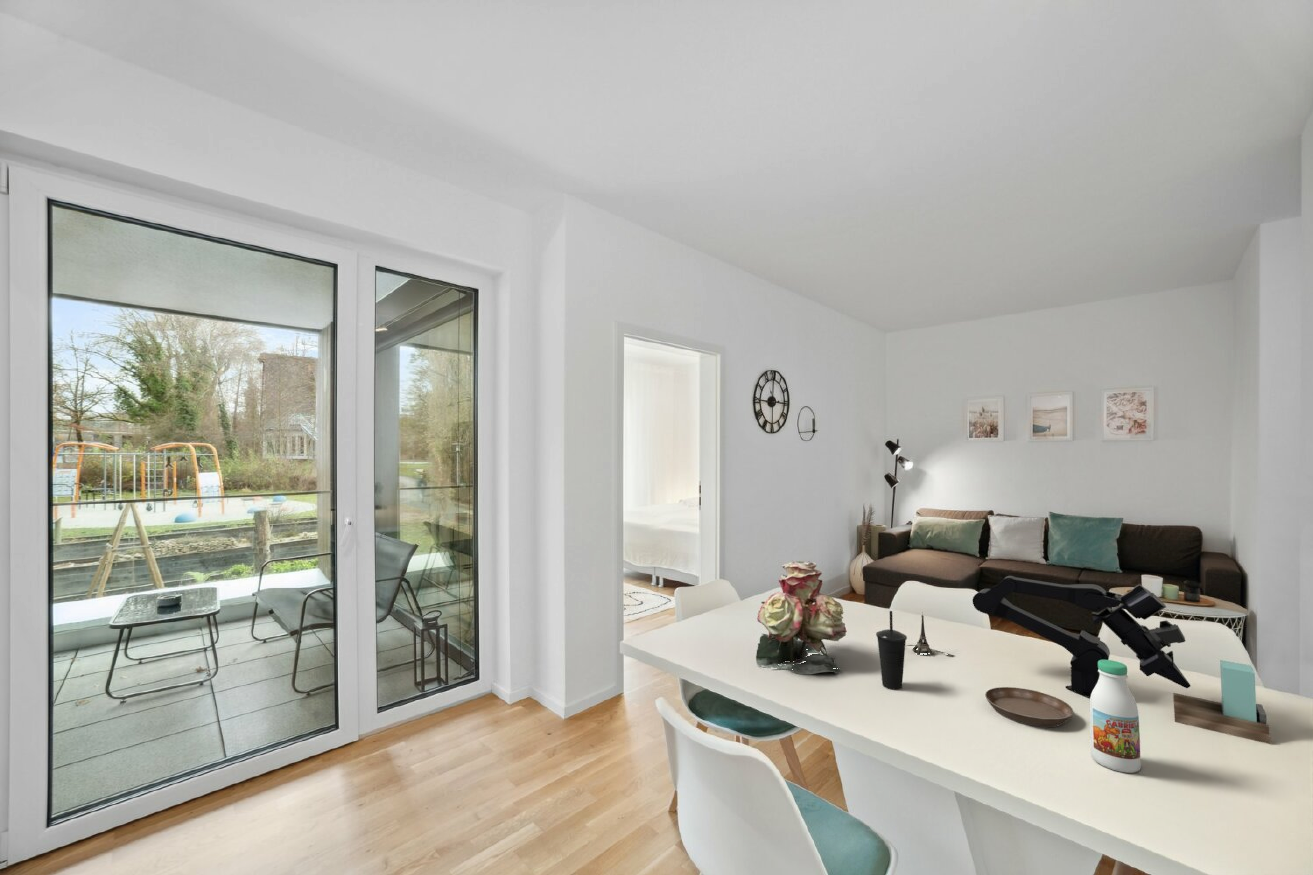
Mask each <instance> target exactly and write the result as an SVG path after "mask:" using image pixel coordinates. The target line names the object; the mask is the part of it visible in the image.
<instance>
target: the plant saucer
mask: <svg viewBox="0 0 1313 875" xmlns="http://www.w3.org/2000/svg"><path fill="white" fill-rule="evenodd" d="M984 695H985V698H986V701H987V702H988V703H989V706H991V707H992V708H993V709H994V710H995V711H996V712H997V713H998V714H999V715H1001V716H1003V717H1005V718H1007V719H1009V720H1011V721H1014V722H1016V723H1021V724H1023V725H1027V726H1035V727H1042V728H1043V727H1046V728H1051V727H1052V728H1053V727H1058V726H1060V725H1063V724H1065V723H1066V722H1068V720H1069V719H1071V717H1072V716H1073V714H1074V709H1073V708H1072V706H1071V705H1070V704H1069V703H1067V702H1065V701H1064V700H1063V699H1061V698H1058V697H1056V696H1053V695H1051V694H1047V693H1044V692H1041V691H1037V690H1033V689H1029V688H1028V689H1027V688H1021V687H1011V686H1006V687H1004V686H1003V687H1000V686H999V687H993V688H990V689H988V690H986V691H985V694H984Z"/></svg>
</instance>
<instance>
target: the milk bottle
mask: <svg viewBox="0 0 1313 875" xmlns="http://www.w3.org/2000/svg"><path fill="white" fill-rule="evenodd" d="M1098 672H1099V673H1100V676H1099V680H1098V682H1097V684H1096V686H1095V687H1094V689H1093V691H1092V693H1091V697H1090V698H1089V699H1090V700H1089V726H1090V727H1089V731H1090V734H1089V735H1090V736H1089V737H1090V739H1089V740H1090V754H1091V758H1092V759H1093V760H1094V761H1095V762H1096V763H1097V764H1098V765H1101V766H1102V767H1104V768H1107V769H1110V770H1113V771H1117V772H1120V773H1125V774H1126V773H1127V774H1133V773H1134V774H1135V773H1138V772H1139V771H1140V770H1141V740H1140V734H1141V733H1140V719H1139V718H1140V717H1139V709H1138V705H1137V702H1136V699H1135V697H1134V696H1133V694H1132V692H1131V689H1130V688H1129V686H1128V683H1127V682H1128V681H1127V678H1128V666H1127V665H1126V664H1124V663H1122V662H1120V661H1116V660H1113V659H1112V660H1111V659H1109V660H1099V661H1098Z"/></svg>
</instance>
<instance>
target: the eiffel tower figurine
mask: <svg viewBox="0 0 1313 875" xmlns="http://www.w3.org/2000/svg"><path fill="white" fill-rule="evenodd" d="M923 613H924V612H923V611H922V614H921V626H920V635H919V638H918V641H917V642H916V644H907V646H915V647H914V648H913V649H911V651H912V652H913V653H914V654H915V653H917V655H920V653H927V655H924V654H923V655H920V656H923V657H936V655H935V654H934V653H941V654H943V653H945V652H942V651H940V650H937V649H933V648H931V647H930V644H929V643H928V641H927V636H926V631H925V623H924V622H925V621H924V617H925V616H924V614H923ZM917 648H918V650H916V649H917ZM933 652H934V653H933ZM928 653H930V654H928ZM946 653H947V652H946ZM947 654H948V655H945V656H946V657H949V658H954V657H956V655H954V654H951V653H947ZM917 655H916V656H917Z"/></svg>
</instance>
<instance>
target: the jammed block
mask: <svg viewBox="0 0 1313 875" xmlns="http://www.w3.org/2000/svg"><path fill="white" fill-rule="evenodd" d="M1219 664H1220V684H1221V685H1220V686H1221V703H1222V713H1223V715H1226V716H1231V717H1235V718H1240V719H1244V720H1249V721H1253V722H1257V717H1256V704H1257V698H1256V696H1257V694H1256V672H1255V671H1254V667H1253V666H1252V665H1251V664H1244V663H1239V662H1234V661H1228V660H1223V659H1221V660H1220V663H1219Z"/></svg>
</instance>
